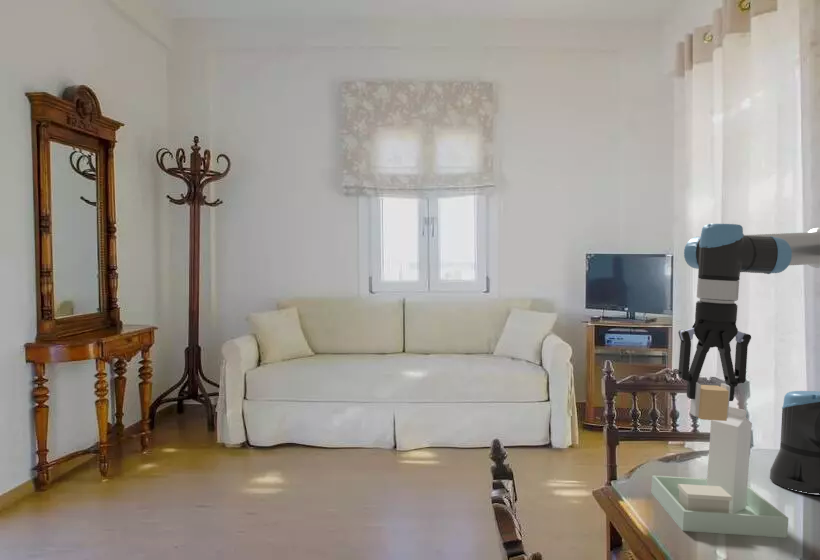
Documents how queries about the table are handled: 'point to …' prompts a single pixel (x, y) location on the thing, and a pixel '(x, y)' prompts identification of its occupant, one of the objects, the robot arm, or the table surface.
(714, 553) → the table surface
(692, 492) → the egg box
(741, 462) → the milk
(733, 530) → the tray
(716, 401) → the box
